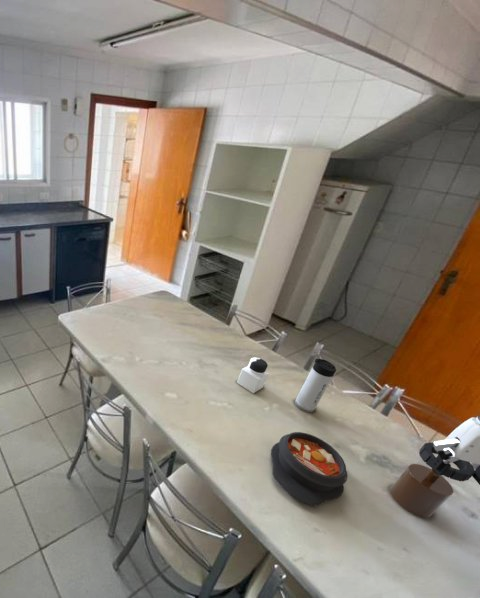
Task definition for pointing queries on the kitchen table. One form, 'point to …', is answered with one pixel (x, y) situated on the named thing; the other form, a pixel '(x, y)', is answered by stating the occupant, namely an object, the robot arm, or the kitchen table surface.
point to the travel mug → (315, 385)
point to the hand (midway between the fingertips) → (456, 475)
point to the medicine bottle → (254, 375)
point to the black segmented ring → (455, 474)
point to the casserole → (308, 468)
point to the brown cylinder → (421, 490)
